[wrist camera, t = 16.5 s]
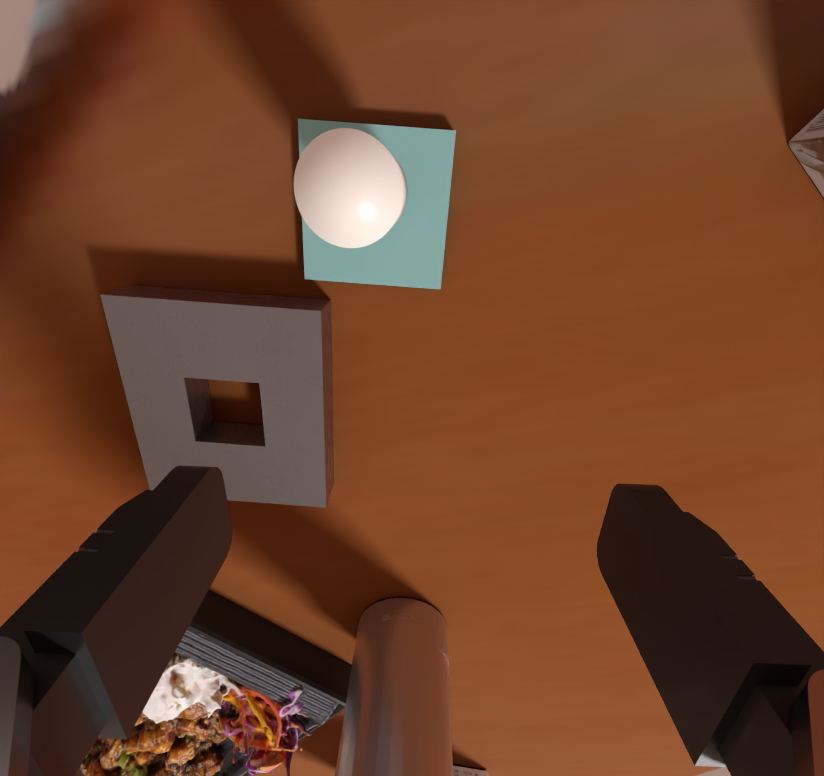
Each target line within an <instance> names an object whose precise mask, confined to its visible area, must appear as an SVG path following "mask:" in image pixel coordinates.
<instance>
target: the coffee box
mask: <svg viewBox="0 0 824 776" xmlns="http://www.w3.org/2000/svg"><path fill="white" fill-rule="evenodd" d="M789 147H790V148H791V150H792V152H793V153H794V154H795V156H796V157H797V159H798V160H799V162H800V163H801V165H802V166H803V168H804V169H805V171H806V172H807V174H808V175H809V177H810V178H811V180H812V181H813V182H814V184H815V185H816V187H817V188H818V190H819V191H820V193H821V194H822V196H823V197H824V109H823V110H822V111H821V112H820V113H819V114H818V115H817V116H816V117H814V118H813V119H812V120H811V121H810V122H809V123H808V124H807V125H806V126H805V127H804V128H803V129H801V130H800V131H799V132H798V133H797V134H796V135H795V136H794V137H793V138H792V139H791V140H790V141H789Z"/></svg>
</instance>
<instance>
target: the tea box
mask: <svg viewBox="0 0 824 776" xmlns="http://www.w3.org/2000/svg"><path fill="white" fill-rule="evenodd" d="M453 776H488V772H487V771H483V770H478V769H472V768H466V767H460V766H454V765H453Z"/></svg>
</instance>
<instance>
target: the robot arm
mask: <svg viewBox="0 0 824 776" xmlns="http://www.w3.org/2000/svg"><path fill="white" fill-rule="evenodd" d="M231 540H232V523H231V517H230V512H229V506H228V501H227V495H226V490H225V484H224V479H223V474H222V472H221V470H220V469H219V468H218V467H206V466H176V467H175V468H173V469H172V470H171V471H170V472H169V473H168V475H167V476H166V477H165V478H164V479H163V480H162V481H161V482H160V483H159V484H158V485H157V486H156V488H155V489H154V490H146V491H144V492H142V493H141V494H139V495H137V496H136V497H134V498H133V499H131V500H129V501H128V502H126V503H125V504H123V505H121V506H120V507H118V508H117V509H116V510H115V511H114V512H113V513H112V514H111V515H110V516H109V517H108V518H107V519H106V520H105V521H104V522H103V523H102V524H101V526H100V527H99V528H98V530H97V533H93V534H92V535H91V536H90V537H89V538H88V539H87V540H86V541H85V542H84V543H83V544H82V545H81V546H80V547H79V551H78V552H74V553H73V554H72V555H71V556H70V557H69V558H68V559H67V560H66V561H65V562H64V563H63V564H62V565H61V566H60V567H59V568H58V569H57V570H56V571H55V572H54V573H53V574H52V575H51V576H50V577H49V578H48V579H47V580H46V581H45V582H44V583H43V584H42V585H41V586H40V587H39V589H38V590H37V591H36V592H35V593H34V594H33V595H32V596H31V597H30V598H29V599H28V600H27V601H26V602H25V603H24V604H23V605H22V606H21V607H20V608H19V609H18V610H17V611H16V612H15V613H14V614H13V615H12V616H11V617H10V618H9V619H8V620H7V621H6V622H5V623H4V624H3V625H2V626H1V627H0V776H84V769H83V766H82V762H83V761H84V759H85V757H86V756H87V754H88V752H89V751H90V749H91V747H92V746H93V744H94V742H95V741H96V739H97V738H104V739H128V737H129V735H130V733H131V732H132V730H133V728H134V726H135V724H136V722H137V721H138V719H139V717H140V715H141V713H142V711H143V709H144V708H145V706H146V704H147V702H148V700H149V698H150V697H151V695H152V693H153V691H154V689H155V687H156V686H157V684H158V682H159V680H160V678H161V676H162V675H163V673H164V671H165V669H166V667H167V665H168V664H169V662H170V660H171V658H172V656H173V654H174V652H175V651H176V649H177V647H178V645H179V643H180V641H181V640H182V638H183V636H184V634H185V632H186V630H187V629H188V627H189V625H190V623H191V621H192V619H193V618H194V616H195V614H196V612H197V610H198V608H199V607H200V605H201V603H202V601H203V599H204V597H205V596H206V594H207V592H208V590H209V588H210V586H211V584H212V583H213V581H214V579H215V577H216V575H217V573H218V572H219V570H220V568H221V566H222V564H223V562H224V561H225V559H226V557H227V554H228V552H229V549H230V545H231ZM597 558H598V564H599V568H600V571H601V573H602V576H603V578H604V580H605V582H606V584H607V586H608V588H609V590H610V592H611V594H612V596H613V598H614V600H615V602H616V604H617V607H618V609H619V611H620V613H621V615H622V617H623V619H624V621H625V623H626V625H627V627H628V629H629V631H630V633H631V635H632V637H633V640H634V642H635V644H636V646H637V648H638V650H639V652H640V654H641V656H642V658H643V660H644V662H645V664H646V666H647V668H648V670H649V672H650V675H651V677H652V679H653V681H654V683H655V685H656V687H657V689H658V691H659V693H660V695H661V697H662V699H663V701H664V703H665V705H666V707H667V710H668V712H669V714H670V716H671V718H672V720H673V722H674V724H675V726H676V728H677V730H678V732H679V734H680V736H681V738H682V740H683V742H684V745H685V747H686V749H687V751H688V753H689V755H690V757H691V759H692V761H693V763H694V765H695V766H714V767H727V768H728V770H729V772H730V774H731V776H824V652H823V651H822V650H821V648H820V647H819V646H818V645H817V644H816V643H815V642H814V641H813V639H812V638H811V637H810V636H809V635H808V634H807V633H806V632H805V630H804V629H803V628H802V627H801V626H800V625H799V624H798V623H797V622H796V620H795V619H794V618H793V617H792V616H791V615H790V614H789V613H788V611H787V610H786V609H785V608H784V607H783V606H782V605H781V604H780V603H779V601H778V600H777V599H776V598H775V597H774V596H773V595H772V594H771V592H770V591H769V590H768V589H767V588H766V587H765V586H764V585H763V583H762V582H761V581H757V580H756V579H755V575H754V573H753V572H752V571H751V570H750V569H749V568H748V567H747V566H746V564H745V563H744V562H743V561H742V560H738V558H737V554H736V553H735V552H734V551H733V550H732V549H731V548H730V547H729V545H728V544H727V543H726V542H725V541H724V540H723V539H722V538H721V536H720V535H719V534H718V533H717V532H716V531H714V530H713V529H712V528H710V527H709V526H707V525H706V524H704V523H703V522H702V521H700V520H699V519H697V518H696V517H695V516H693V515H692V514H690V513H689V512H683V511H682V510H681V509H680V508H679V507H678V505H677V504H676V503H675V502H674V501H673V499H672V498H671V497H670V496H669V495H668V493H667V492H666V491H665V490H664V489H663V488H662V487H660V486H658V485H641V484H617V485H616V486H615V487H614V488H613V490H612V493H611V496H610V499H609V503H608V507H607V510H606V514H605V517H604V521H603V524H602V528H601V531H600V535H599V538H598V543H597ZM448 668H449V667H448V645H447V627H446V622H445V620H444V618H443V616H442V615H441V614H440V613H439V611H438V610H436V609H435V608H434V607H432V606H430V605H428V604H426V603H424V602H421V601H418V600H415V599H408V598H392V599H386V600H383V601H380V602H377V603H375V604H373V605H371V606H370V607H369V608H367V609H366V610H365V611H364V612H363V614H362V615H361V617H360V620H359V624H358V631H357V637H356V643H355V650H354V656H353V661H352V668H351V674H350V681H349V687H348V694H347V700H346V707H345V713H344V720H343V726H342V732H341V739H340V745H339V752H338V758H337V765H336V771H335V776H453V760H452V737H451V715H450V692H449V670H448Z"/></svg>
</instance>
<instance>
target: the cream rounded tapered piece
mask: <svg viewBox="0 0 824 776" xmlns="http://www.w3.org/2000/svg"><path fill="white" fill-rule="evenodd" d="M294 194H295V199H296V203H297V206H298V209H299V211H300V213H301V216H302V217H303V219H304V221H305V222H306V224H307V225H308V226H309V228H310V229H311V230H312V231H313V232H314V233H315V234H316V235H318V236H319V237H320V238H322V239H323V240H325V241H326V242H328V243H330V244H333V245H336V246H339V247H344V248H360V247H364V246H367V245H370V244H372V243H374V242H376V241H378V240H379V239H380V238H382V237H383V236H384V235H385V234H386V233H387V232H388V231H389V230H390V229H391V228H392V226H393V225H394V224H395V223H396V222H397V221H398V219H399V218H400V217H401V215H402V213H403V211H404V209H405V206H406V202H407V196H408V187H407V180H406V176H405V173H404V171H403V169H402V167H401V165H400V164H399V162H398V161H397V160H396V158H395V157H394V156H393V155H392V154H391V153H390V152H389V151H388V150H387V148H386V147H385V146H384V145H383V144H382V143H381V142H379V141H378V140H377V139H376V138H374V137H373V136H371V135H369V134H367V133H365V132H363V131H360V130H357V129H351V128H338V129H333V130H329V131H327V132H324V133H322V134H320V135H319V136H317V137H316V138H315V139H313V140H312V141H311V142H310V143H309V144H308V145H307V147H306V148H305V149H304V151H303V152H302V154H301V156H300V158H299V160H298V163H297V166H296V169H295V175H294Z"/></svg>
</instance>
